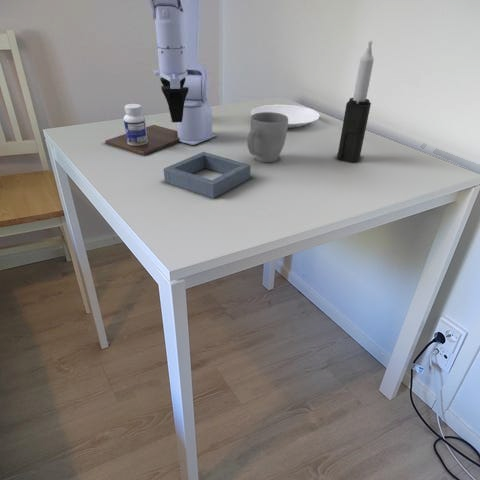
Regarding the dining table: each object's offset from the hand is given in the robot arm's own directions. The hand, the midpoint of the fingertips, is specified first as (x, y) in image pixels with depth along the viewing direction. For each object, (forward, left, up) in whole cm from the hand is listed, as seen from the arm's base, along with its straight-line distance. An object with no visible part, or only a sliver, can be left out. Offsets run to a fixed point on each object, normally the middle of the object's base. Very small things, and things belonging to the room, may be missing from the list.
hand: (176, 116), depth 97 cm
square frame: (+5, +13, -10) cm, 17 cm away
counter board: (-6, -16, -10) cm, 20 cm away
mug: (-13, +16, -10) cm, 23 cm away
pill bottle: (-1, -15, -9) cm, 18 cm away
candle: (-28, +32, -10) cm, 44 cm away
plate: (-45, +3, -10) cm, 46 cm away
